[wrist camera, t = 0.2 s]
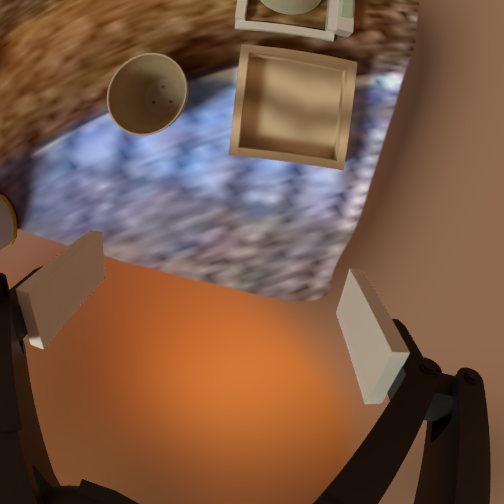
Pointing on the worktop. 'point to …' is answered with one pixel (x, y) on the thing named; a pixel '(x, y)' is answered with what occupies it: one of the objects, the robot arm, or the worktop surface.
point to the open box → (292, 106)
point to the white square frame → (336, 23)
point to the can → (291, 5)
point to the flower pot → (147, 94)
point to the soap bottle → (7, 223)
